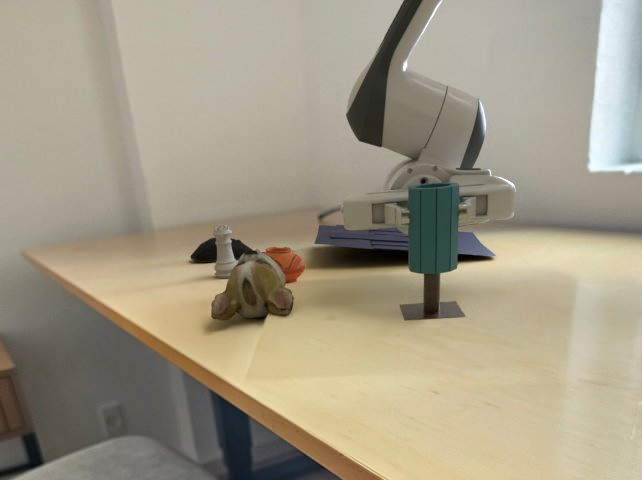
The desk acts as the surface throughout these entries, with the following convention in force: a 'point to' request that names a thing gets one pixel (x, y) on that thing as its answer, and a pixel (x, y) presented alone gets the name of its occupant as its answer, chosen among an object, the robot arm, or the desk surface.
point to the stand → (431, 303)
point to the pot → (287, 262)
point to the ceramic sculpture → (253, 289)
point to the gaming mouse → (209, 250)
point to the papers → (389, 239)
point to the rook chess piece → (223, 252)
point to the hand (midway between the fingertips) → (434, 215)
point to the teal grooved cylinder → (433, 227)
